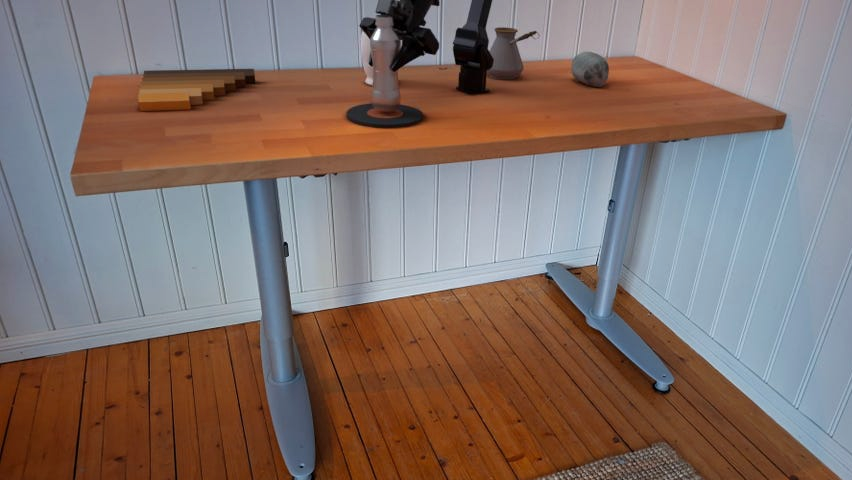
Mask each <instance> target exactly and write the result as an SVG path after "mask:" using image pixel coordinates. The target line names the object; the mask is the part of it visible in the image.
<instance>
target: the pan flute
mask: <svg viewBox="0 0 852 480" xmlns="http://www.w3.org/2000/svg"><path fill="white" fill-rule="evenodd" d="M246 84H247V85H248V84H256V75H255V69H254V68H219V69H218V68H214V69H212V68H211V69H164V70H163V69H160V70H155V69H154V70H143V74H142V78H141V81H140V85H139V89H138V93H137V100H138V106H139V111H140V112H150V111H151V112H153V111H155V112H156V111H179V110H181V111H183V110H191V109H192V106H194V105H195V106H197V105H204V101H215V97H217V96H218V97H219V96H220V97H221V96H226V92H236V91H237V90H236V89H237V88H247V85H246Z"/></svg>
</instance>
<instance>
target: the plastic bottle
mask: <svg viewBox="0 0 852 480" xmlns="http://www.w3.org/2000/svg"><path fill="white" fill-rule="evenodd" d="M375 19H376V22H375V25H377V28H376V30H375V31H374V33H373V35H372V36H371V39H370V47H371V55H372V63H373V86H372V85H371V86H372V87H371V92H370V93H371V94H370V101H371V102H370V103H372V106H373V107H374V109H376V110H379V111H394V110H397V109H398V108H399V106H400V104H401V101H402V97H401V90H400V84H399V82H400V81H399V70H397V71H395V72H393V71H392V70H391V67H392V65H393V62H394V60H395V58H396V56H397V55H398V53H399V51H400V44H401V45H402V41H401V42H400V39H399V37H398V35H397V34H396V32H395V31H394V29H393V26H394V23H393V16H388V15H381V14H376V15H375Z"/></svg>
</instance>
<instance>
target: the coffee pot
mask: <svg viewBox="0 0 852 480" xmlns="http://www.w3.org/2000/svg"><path fill="white" fill-rule="evenodd" d="M494 32H495V35H496V37H495V39H494V41H493V43H492V45H491V47H490V50H489V52H490V54H491V55H492V57H493V59H494V62H493V66H492V68H490V70H487V75H488V76H489V77H490V78H492V79H496V80H515V79H517V77H518V76H520V75H521V73H522V72H523V70H524V63H523V60H522V57H521V54H520V50H519V47H518V44H517V43H518V42H520V41H524V40H527V39H529V38H530V37H531V38H532V39H534V40H538V39H539V38H540V36H541V35H540V33H539V32H538V31H536V30H533V31H529V32H528V33H525V34H523V35H521V36H519V37H517V38H516V35H517V33H518V32H519V30H518V29H517V28H512V27H505V26H504V27H503V26H501V27H499V26H498V27H495V28H494ZM536 34H537V35H538V37H537V38H535V37H534V35H536Z"/></svg>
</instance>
